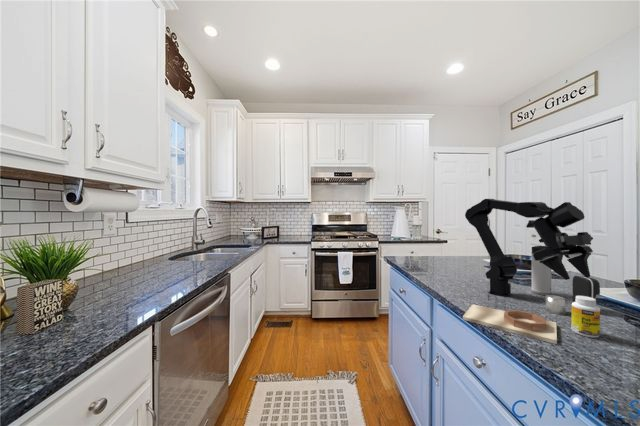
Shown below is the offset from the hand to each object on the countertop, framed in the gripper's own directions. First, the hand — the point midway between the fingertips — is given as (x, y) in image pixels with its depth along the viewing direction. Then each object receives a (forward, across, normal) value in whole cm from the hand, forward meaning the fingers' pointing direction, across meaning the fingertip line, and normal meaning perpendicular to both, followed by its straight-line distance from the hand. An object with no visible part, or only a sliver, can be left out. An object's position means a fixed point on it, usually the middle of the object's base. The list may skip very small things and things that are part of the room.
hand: (578, 278), depth 79 cm
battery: (+9, +14, +12) cm, 20 cm away
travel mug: (+1, +17, +26) cm, 31 cm away
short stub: (+8, +1, +13) cm, 15 cm away
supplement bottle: (+15, -9, +1) cm, 17 cm away
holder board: (+9, -23, +11) cm, 27 cm away
